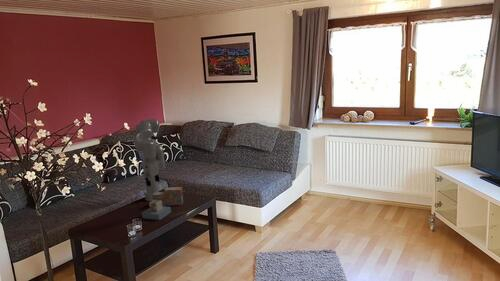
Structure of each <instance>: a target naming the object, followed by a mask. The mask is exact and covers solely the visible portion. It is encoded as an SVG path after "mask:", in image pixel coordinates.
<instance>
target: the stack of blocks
mask: <svg viewBox="0 0 500 281" xmlns="http://www.w3.org/2000/svg"><path fill="white" fill-rule="evenodd" d="M152 196H153V200H162V206H165V207H171V206H182V205H183V204H184V197H183V196H184V194H183V187H182V186H174V187H165V188H164V190H163V191H159V192H155V193H154V194H153V195H152Z"/></svg>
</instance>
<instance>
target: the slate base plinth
mask: <svg viewBox="0 0 500 281" xmlns="http://www.w3.org/2000/svg"><path fill="white" fill-rule="evenodd" d="M162 208H163V209H161V210H159V211H158V212H155V211H150V207H149V208H148V209H145V210H144V211H142V212H141V216H142V219H144V220H145V219H146V220H155V221H160V220H162V219H163V218H165V217H166V216H168V215H170V214H171V213H172V207H171V206H162ZM169 213H170V214H169Z"/></svg>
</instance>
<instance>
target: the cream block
mask: <svg viewBox="0 0 500 281" xmlns="http://www.w3.org/2000/svg"><path fill="white" fill-rule="evenodd" d="M148 205H149V208H150V211H155V212H158V211H159V210H161V209H163V208H162V200H153V201H149V204H148Z"/></svg>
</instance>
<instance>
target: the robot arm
mask: <svg viewBox="0 0 500 281" xmlns="http://www.w3.org/2000/svg"><path fill="white" fill-rule="evenodd" d="M135 131H136V135H135V138H134V146H135V150H136V151H137V152H141V154H142V157H143V159H144V160H143V161H142V162H141V167H142V171H143V178H144V182H145V183H144V184H145V192H143V196H144V197H145V198H144V199H145V201H147V202H148V201H149V202H151V201H153V196H152V195H153V194H154V193H155V192H160V191H159V190H160V188H159V182H160V173H161V171H162V170H165V169H166V162H165V153H164V149H163V146H162V145H161V144H159V143H157V141H156V140H155V139H154V138H152V136H153V134H157V133H159V131H160V122H159V120H158V119H157V118H151V119H143V120H141V121H139V123H137V124H136V125H135Z"/></svg>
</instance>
